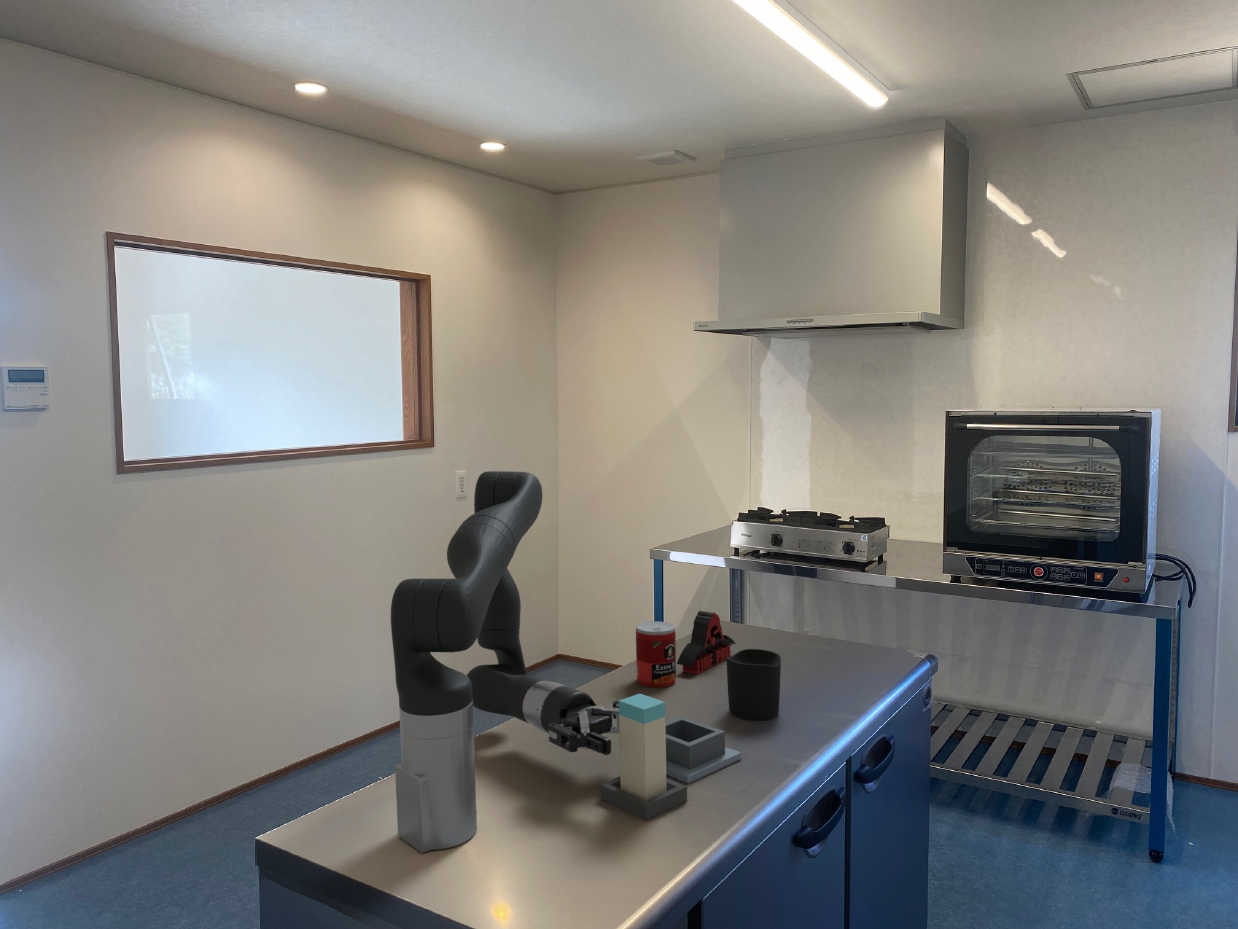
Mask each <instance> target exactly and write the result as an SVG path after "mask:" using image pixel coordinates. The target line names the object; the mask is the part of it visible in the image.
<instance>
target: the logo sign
mask: <svg viewBox="0 0 1238 929" xmlns="http://www.w3.org/2000/svg"><path fill="white" fill-rule="evenodd" d="M733 645H736V642H735V640H734V639H733V638H731V637H730V636H728V635H726V634H723V629H722V625H721V619H720V616H719V615H718V614H716V612H711V611H705V610H698V611H697V614H696V616H695V618H694V620H693V627H692V631H691V639H690V642H688V643H687V644H686V645H685V647H684V648H683V650H682V651H681V653H680V655H679V657H678V659H677V661H676V665H681V666H682V672H683V673H689V674H693V675H699V674H701V673H703V672H705V671H706V670H709V669H711V668H713V667H715V666H716V665H719V663H723V662H725V661H726V657H731V646H733Z"/></svg>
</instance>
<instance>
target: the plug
mask: <svg viewBox="0 0 1238 929" xmlns="http://www.w3.org/2000/svg"><path fill="white" fill-rule="evenodd" d="M618 701H619V731H620V734H619V766H620V767H619V769H620V771H619V773H620V776H619V777H620V779H621V790H623V791H625V792H628V793H630V794H632V795H634V796H636V797H638V798H641V799H643V800H645V801H647V800H649V799H651V798H653V797H655V796H658V795H660V794H662V793H664V792H666V791H667V787H666V778H667V775H666V726H665V723H666V702H665V701H662V700H660V699H657V698H654V697H651V696H648V695H644V694H642V693H637V694H633V695H631V696H629V697H625V698H623V699H619V700H618Z"/></svg>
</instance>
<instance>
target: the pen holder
mask: <svg viewBox="0 0 1238 929" xmlns="http://www.w3.org/2000/svg"><path fill="white" fill-rule="evenodd" d="M725 661H726V676H727V677H726V679H727V698H728V700H727V701H728V710H729V712H730V714H731V715H732V716H734V717H736V718H738V719H740V720H745V721H753V722H754V721H755V722H759V721H767V720H770V719H771V720H772V719H773V717H774V718H775V717H777V715H778V714H779V713H780V712H779V710H780V696H781V695H780V694H781V693H780V691H781V668H782V666H781V665H782V664H781V663H782V662H781V661H782V657H781V655H780V654H779V653H777V652H775V651H771V650H768V649H761V648H747V649H746V648H745V649H742V650H740V651H737V652H736V653H734V654H733V655H732V656H730V657H726V660H725ZM757 720H758V721H757Z"/></svg>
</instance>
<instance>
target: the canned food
mask: <svg viewBox="0 0 1238 929" xmlns="http://www.w3.org/2000/svg"><path fill="white" fill-rule="evenodd" d="M676 638H677V636H676V625H674V624H673V623H670V622H668V621H667V622H665V621H644V622H641V623H638V624H637V625H636V626H635V655H636V656H635V657H636V661H635V662H636V679H637V682H638V684H640V686H643V687H648V688H655V689H657V688H659V689H660V688H667V687H670V686H672V685H673V684H675V682H676V680H677V656H676V655H677V654H676V651H677V648H676V647H677V644H676V643H677V641H676Z"/></svg>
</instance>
